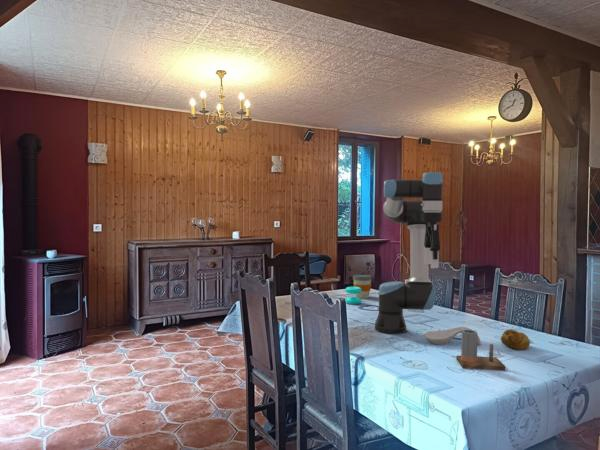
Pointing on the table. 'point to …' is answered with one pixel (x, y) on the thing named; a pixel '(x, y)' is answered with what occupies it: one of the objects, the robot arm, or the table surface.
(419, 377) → the table surface
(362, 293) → the reusable coffee cup
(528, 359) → the table surface
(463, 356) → the sleeve
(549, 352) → the table surface
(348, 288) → the donuts
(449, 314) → the table surface
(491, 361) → the pin board
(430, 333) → the spoon rest
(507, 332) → the bread roll
